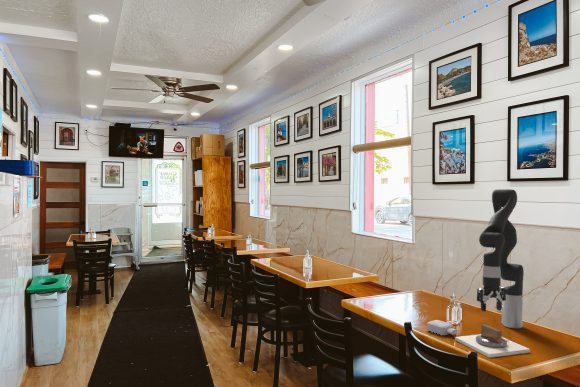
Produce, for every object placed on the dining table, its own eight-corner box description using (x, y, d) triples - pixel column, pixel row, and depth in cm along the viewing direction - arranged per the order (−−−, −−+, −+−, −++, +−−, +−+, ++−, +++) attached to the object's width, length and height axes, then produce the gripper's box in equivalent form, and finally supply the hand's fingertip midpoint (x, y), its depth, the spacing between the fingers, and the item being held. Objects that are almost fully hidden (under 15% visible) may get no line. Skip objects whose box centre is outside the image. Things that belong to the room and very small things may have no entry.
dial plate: (455, 340, 200) (455, 336, 200) (492, 336, 206) (492, 332, 206) (489, 357, 179) (489, 353, 179) (529, 352, 185) (529, 348, 185)
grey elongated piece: (452, 340, 201) (426, 331, 213) (463, 336, 206) (437, 328, 218) (452, 330, 201) (426, 322, 213) (463, 326, 206) (437, 319, 218)
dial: (469, 339, 197) (469, 324, 197) (492, 336, 200) (492, 322, 200) (490, 349, 184) (490, 333, 184) (513, 346, 188) (513, 331, 188)
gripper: (497, 273, 198) (497, 307, 198) (473, 274, 194) (472, 309, 194) (510, 276, 191) (510, 311, 191) (484, 277, 187) (484, 313, 187)
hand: (491, 310), depth 192 cm, fingers open, 8 cm apart
